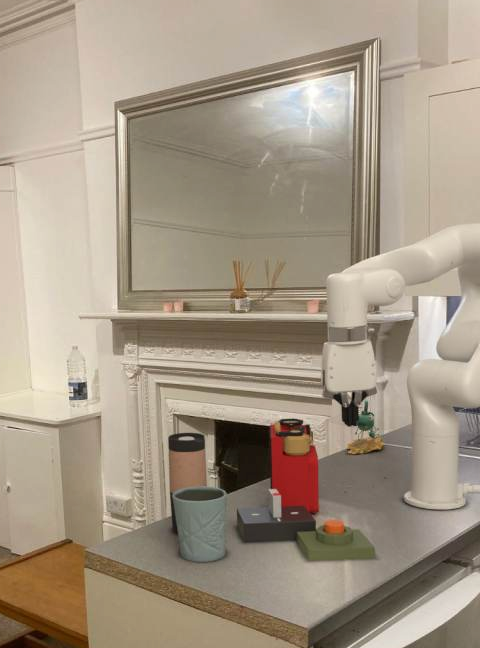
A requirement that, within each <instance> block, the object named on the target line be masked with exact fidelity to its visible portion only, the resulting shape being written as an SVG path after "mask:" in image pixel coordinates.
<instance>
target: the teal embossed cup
mask: <svg viewBox="0 0 480 648" xmlns="http://www.w3.org/2000/svg"><path fill="white" fill-rule="evenodd" d="M227 496H228V493H227V492H226V490H224V489H223V488H219V487H217V486H216V487H214V486H207V487H206V486H197V487H189V488H183V489H180V490H177V491H175V492H174V493H173V495H172V497H173V503H174V510H175V516H176V521H177V522H176V523H177V524H176V525H177V528H178V529H177V531H178V534H177V536H178V544H179V553H180V556H181V557H182V558H183V559H185V560H187V561H190V562H197V563H199V562H200V563H204V562H206V563H208V562H214V561H217V560H221V559H222V558H223V557H225V555H226V527H227V526H226V522H227V520H226V518H227V508H226V507H227Z"/></svg>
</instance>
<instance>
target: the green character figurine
mask: <svg viewBox="0 0 480 648" xmlns="http://www.w3.org/2000/svg"><path fill="white" fill-rule="evenodd" d="M368 409H369V401H368V400H364V406H363V410H361V412H360V414H359V421H357V426H356V427H357V429H356V431H355V432H354V434H355V435H357V439H354V440H352V441H350V442H348V443H347V447H346V448H347V449H350V450H348V452H347V453H348V454H351V455H356V454H357V455H358V454H362V455H363V454H367V453H369V452H372V451H378V450H381V449H382V448H383V446H384V445H385V442H384V440H383V439H381V437H380V434H379V433H377V432H378V431H379V430H380V429H379V428H376V426H375V419H374V417H375V414H374V412H371V411H368ZM373 429H374V430H373ZM358 431H360V432H359V433H358ZM364 432H367V433H368V436H367V437H366V438H365V437H363V436H364ZM376 433H377V434H376ZM360 434H361V437H360Z"/></svg>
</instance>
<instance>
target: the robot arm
mask: <svg viewBox="0 0 480 648" xmlns="http://www.w3.org/2000/svg"><path fill="white" fill-rule="evenodd" d="M456 268H457V276H458V281H459V286H460V295H461V296H460V302H459V304H458V306H457V309H456V310H455V311H454V314H453V315H452V316H451V318H450V319H449V321H448V323H447V324H446V326H445V327H444V329H443V331H442V332H441V333H440V336H439V338H438V340H437V343H436V347H435V349H436V353H437V355H438V357H439V358H440V359H436V358H429V359H422V360H419V361H417V362H415V363H414V364H413V365H412V366H411V367H410V369H409V370H408V372H407V377H406V388H407V393H408V394H407V395H408V398H409V402H410V411H411V490H409V491H407V492H405V493H404V495H403V500H404V502H405V503H407V504H408V505H409V506H413V507H416V508H421V509H426V510H435V511H436V510H440V511H441V510H443V511H445V510H447V511H448V510H455V509H460V508H462V507H464V506H466V504H467V497H466V496H467V494H472V495H474V494H480V484H471V483H470V482H461V481H459V464H460V463H459V459H460V456H459V455H460V423H459V418H458V415H457V413H456V410H455V408H461V409H471V410H473V409H477V408H480V222H478V223H477V222H476V223H475V222H474V223H464V224H463V223H462V224H455V225H450V226H448V227H445V228H443V229H441V230H439V231H437V232H435V233H433V234H430V235H429V236H427V237H425V238H422V239H421V240H419V241H416V242H415V243H413V244H409V245H406V246H402V247H400V248H399V247H398V248H397V249H393V250H391V251H388V252H384V253H380V254H377V255H375V256H371V257H368V258H366V259H364V260H361V261H359V262H357V263H355V264H353V265H350V266H349V267H347V268H345V269H344V270H343V271H341V272H337V273H336V272H334V273H332V274H329V275H328V276H327V277H326V281H325V286H326V287H325V288H326V289H325V292H326V293H325V294H326V317H327V318H326V319H327V321H326V322H327V341H326V342H323V345H322V353H321V363H320V365H321V367H320V384H321V388H322V393H321V397H322V398H323V399H327V400H334V401H336V402H337V403H338V404H339V405H340V406H341V407H340V408H341V421H342V422H343V423H344V425H345V426H347V427H348V428H349V427H358V426H357V421H359V415H360V409H359V407H360V406H361V404H362V403H363V401H365V400H366V398H368V397H372V396H374V395H377V394H378V389H377V384H378V383H377V382H378V381H377V380H378V379H377V367H376V365H377V364H376V360H375V352H374V347H373V344H372V340H371V339H369V338H370V337H369V336H370V335H374V334H375V332H376V331H375V327H374V326H372V327H371V326H369V324H368V307H369V306H371V307H386V306H391V305H393V304H395V303H397V302H398V301H399V300H400V299H401V298H402V297H403V295H404V293H405V290H406V287H408V286H415V285H421V284H425V283H429V282H431V281H433V280H435V279H437V278H439V277H441V276H442V275H445V274H447V273H448V272H450V271H452V270H454V269H456ZM348 393H350V395H351V396H350V401H349V396H348Z"/></svg>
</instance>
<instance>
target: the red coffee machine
mask: <svg viewBox="0 0 480 648" xmlns="http://www.w3.org/2000/svg"><path fill="white" fill-rule="evenodd" d="M310 425H311V424H309V423H308V424H304V419H300V418H295V417H293V418H281V419H279V420H277V421H275V422H274V423H272V424H271V423H270V425H268V427H269V428H268V430H267V432H268V433H267V434H268V436H269V441H268V447H269V474H270V475H269V476H270V477H269V479H270V489H277V491H278V492H279V494H280V495H281V506H305V507H306V509H307V510H308V511H309V512H310V514H312V513H313V514H314V513H315V514H316V513H317V514H319V513H320V512H319V510H320V500H319V498H320V496H319V494H320V493H319V488H320V487H319V486H320V485H319V455H318V451H317V448H316V445H314V444H311V443H313V436H312V427H311V426H310Z"/></svg>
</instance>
